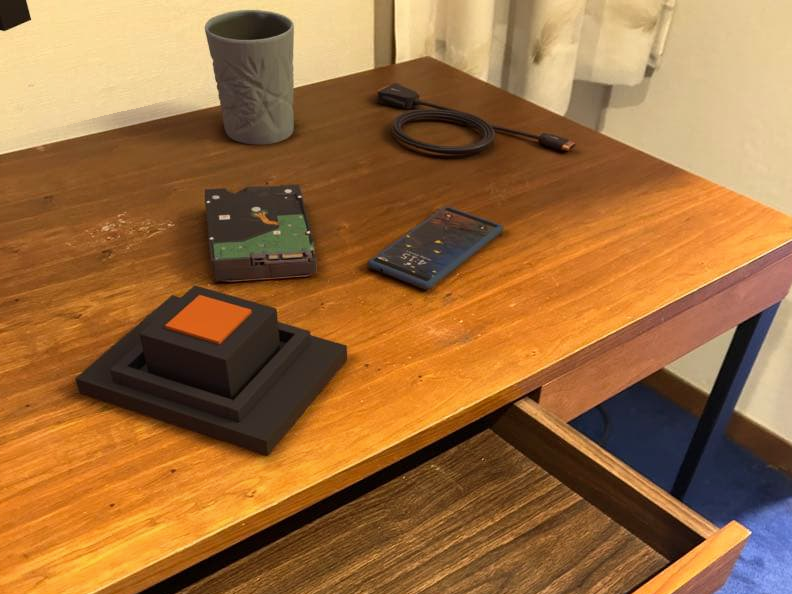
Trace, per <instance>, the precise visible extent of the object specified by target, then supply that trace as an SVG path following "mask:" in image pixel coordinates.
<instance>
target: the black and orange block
mask: <svg viewBox="0 0 792 594" xmlns="http://www.w3.org/2000/svg"><path fill="white" fill-rule="evenodd" d="M180 297H181V298H179V299H178V300H177V301H176V302H175V303H174V304H173V305H171V306H170V307H169V308H168V309H167V310H166V311H165V312H163V313H162V314H161V315H160V316H159V317H158V318H157V319H155V320H154V321H153V322H152V323H151V324H150V325H148V326H147V327H146V328H145V329H144V330H143V331H142V332H140V333H139V335H140V339H141V344H142V348H143V352H144V357H145V361H146V365H147V369H148V373H150V374H153V375H156V376H159V377H162V378H165V379H169V380H172V381H175V382H178V383H181V384H184V385H187V386H191V387H194V388H197V389H200V390H203V391H206V392H209V393H212V394H216V395H219V396H222V397H225V398H228V399H231V400H233V399H234V398H235V397H236V396H237V395H238V393H239V392H240V391H241V390H242V389H243V388H244V387H245V386H246V385H247V384H248V383H249V382H250V381H251V379H252V378H253V377H254V376H255V375H256V374H257V373H258V372H259V371H260V370H261V369H262V368H263V367H264V365H265V364H266V363H267V362H268V361H269V360H270V359H271V358H272V357H273V356H274V355H275V354H276V353H277V351H278V350H279V349H280V340H279V329H278V322H279V318H278V309H277V307H273V306H269V305H266V304H262V303H260V302H259V303H258V302H255V301H253V300H252V301H251V300H248V299H245V298H242V297H237V296H234V295H230V294H228V293H223V292H220V291H217V290H214V289H209V288H206V287H203V286H199V285H193V286H192V287H191V288H190V289H189V290H187V291H186V292H185V293H184V294H183V295H182V296H180Z"/></svg>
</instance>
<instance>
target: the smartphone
mask: <svg viewBox="0 0 792 594" xmlns="http://www.w3.org/2000/svg"><path fill="white" fill-rule="evenodd" d="M503 231H504V226H503V225H502V224H500V223H497V222H493V221H491V220H488V219H485V218H482V217H479V216H477V215H474V214H471V213H468V212H465V211H462V210H460V209H457V208H454V207H451V206H448V205H447V206H443V207H442V208H440V209H439V210H437V211H436V212H435V213H433V214H432V215H431V216H429V217H428V218H426V219H425V220H424V221H422V222H421V223H419V224H418V225H417V226H415V227H414V228H412V229H411V230H410V231H408V232H406V233H405V234H404V235H402V236H401V237H400V238H398V239H396V241H394V242H392V243H391V244H389V245H388V246H387V247H386V248H384V249H383V250H381V251H379V252H378V253H376V255H374V256H373V257H371V258H370V259H368V261H367V267H368V268H370V269H372V270H375V271H377V272H380V273H382V274H384V275H387V276H390V277H392V278H395V279H397V280H400V281H403V282H405V283H407V284H410V285H413V286H415V287H417V288H420V289H423V290H431V289H432V288H433V287H435V286H436V285H437V284H439V282H441V281H442V280H443V279H445V278H446V277H447V276H448V275H450V274H451V273H452V272H453V271H455V270H456V269H457V268H459V267H460V266H461V265H462V264H464V262H466V261H467V260H469V259H470V258H471V257H473V256H474V255H475V254H476V253H477V252H479V251H481V249H483V248H484V247H485V246H487V244H489V243H490V242H491V241H493V240H494V239H495V238H496V237H497V236H499V235H500V234H501V233H502V232H503Z"/></svg>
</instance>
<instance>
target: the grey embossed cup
mask: <svg viewBox="0 0 792 594" xmlns="http://www.w3.org/2000/svg"><path fill="white" fill-rule="evenodd" d="M204 33H205V37H206V41H207V46H208V50H209V55H210V58H211V60H212V69H213V73H214V74H213V75H214V80H215V82H216V90H217V93H218V100H219V106H220V109H221V114H222V121H223V122H222V123H223V127H224V132H225V133H226V135H227V136H228V138H229V139H231V140H233V141H235V142H239V143H241V144H247V145H255V146H256V145H257V146H259V145H271V144H275V143H279V142H283V141H285V140H287V139H288V138H290V137H291V136H292V135H293V132H294V127H295V116H294V115H295V113H294V110H293V109H294V108H293V106H294V103H295V101H294V96H295V93H294V87H295V85H294V83H295V81H294V43H295V42H294V37H295V24H294V22H293V21H292V19H290V17H288V16H286V15H284V14H281V13H278V12H274V11H269V10H260V9H239V10H233V11H232V10H231V11H228V12H224V13H220V14H217V15H215V16H212V17H211V18H209V19H208V20H207V21H206V23H205V25H204Z"/></svg>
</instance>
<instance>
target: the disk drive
mask: <svg viewBox="0 0 792 594" xmlns="http://www.w3.org/2000/svg"><path fill="white" fill-rule="evenodd" d="M204 203H205V212H206V221H207V223H206V226H207V234H208V235H207V238H208V251H209V259H210V267H211V268H210V269H211V275H212V280H213V281H214V282H223V283H225V282H230V283H231V282H243V281H258V280H271V279H287V278H299V277H310V276H311V275H312V276H313V275H317V273H318V261H317V255H316V250H315V240H314V237H313V235H312V230H311V226H310V221H309V218H308V213H307V209H306V205H305V202H304V196H303V191H302V189H301V186H300V184H281V185H265V186H263V185H261V186H246V187H244V188H243V189H241V190H239V191H237V192H233V191H229V190H228V189H227V188H226V187H224V188H206V189H204Z"/></svg>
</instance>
